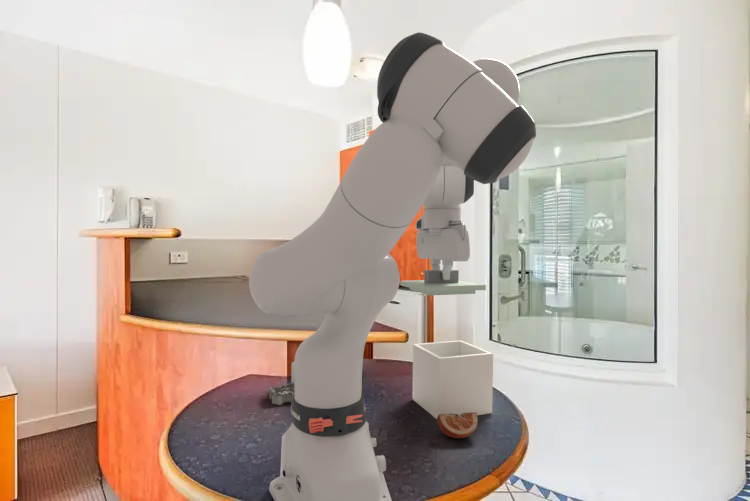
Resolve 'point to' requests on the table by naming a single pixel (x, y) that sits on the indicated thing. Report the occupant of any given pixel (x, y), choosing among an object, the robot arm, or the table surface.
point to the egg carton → (282, 393)
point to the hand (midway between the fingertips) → (441, 279)
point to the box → (452, 378)
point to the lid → (442, 284)
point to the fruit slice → (458, 424)
